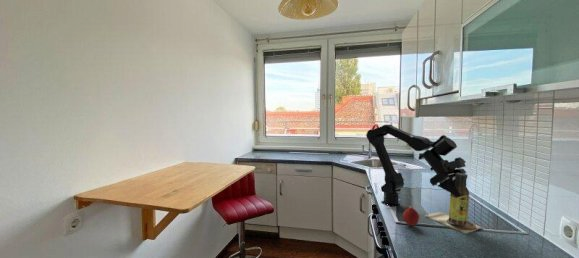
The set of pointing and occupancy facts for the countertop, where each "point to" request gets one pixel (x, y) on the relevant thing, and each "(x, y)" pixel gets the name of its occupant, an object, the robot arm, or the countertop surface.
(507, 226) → the countertop surface
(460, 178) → the sauce bottle
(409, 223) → the onion
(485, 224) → the countertop surface
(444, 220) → the beige flat board
